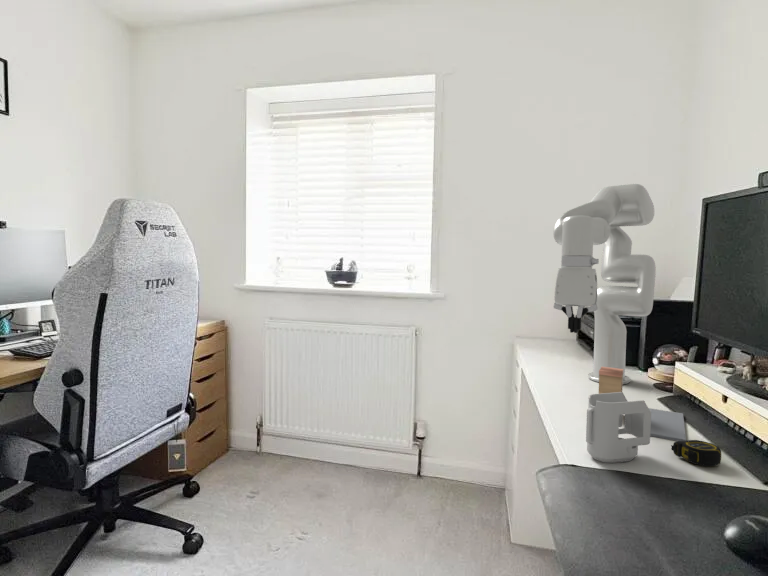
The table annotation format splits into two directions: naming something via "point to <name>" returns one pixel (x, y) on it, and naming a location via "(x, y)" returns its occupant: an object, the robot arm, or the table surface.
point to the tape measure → (698, 452)
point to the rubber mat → (667, 425)
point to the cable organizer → (616, 427)
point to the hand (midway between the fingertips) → (574, 331)
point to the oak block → (610, 380)
